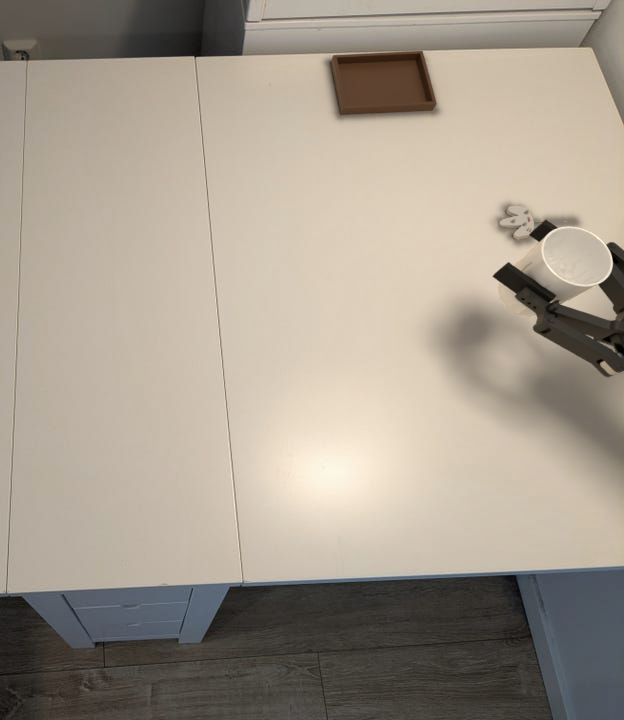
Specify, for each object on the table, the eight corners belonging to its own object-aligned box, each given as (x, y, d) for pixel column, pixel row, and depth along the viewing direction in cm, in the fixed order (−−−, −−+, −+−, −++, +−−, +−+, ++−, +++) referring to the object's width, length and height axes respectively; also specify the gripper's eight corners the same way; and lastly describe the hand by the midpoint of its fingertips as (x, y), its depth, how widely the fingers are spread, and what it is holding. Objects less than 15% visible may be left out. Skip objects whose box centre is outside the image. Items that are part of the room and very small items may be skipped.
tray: (329, 65, 103) (333, 54, 100) (417, 61, 102) (422, 50, 100) (339, 117, 99) (343, 108, 96) (430, 113, 98) (437, 103, 96)
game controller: (489, 216, 91) (498, 207, 89) (550, 196, 92) (561, 186, 90) (508, 245, 89) (518, 236, 87) (570, 224, 90) (582, 215, 88)
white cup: (567, 307, 73) (627, 271, 63) (516, 330, 72) (570, 296, 62) (530, 259, 75) (583, 217, 66) (480, 280, 74) (527, 240, 65)
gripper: (622, 438, 65) (455, 314, 70) (706, 323, 69) (543, 214, 75) (679, 424, 58) (489, 287, 63) (769, 296, 62) (584, 179, 68)
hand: (519, 248), depth 69 cm, fingers closed on white cup, 8 cm apart
